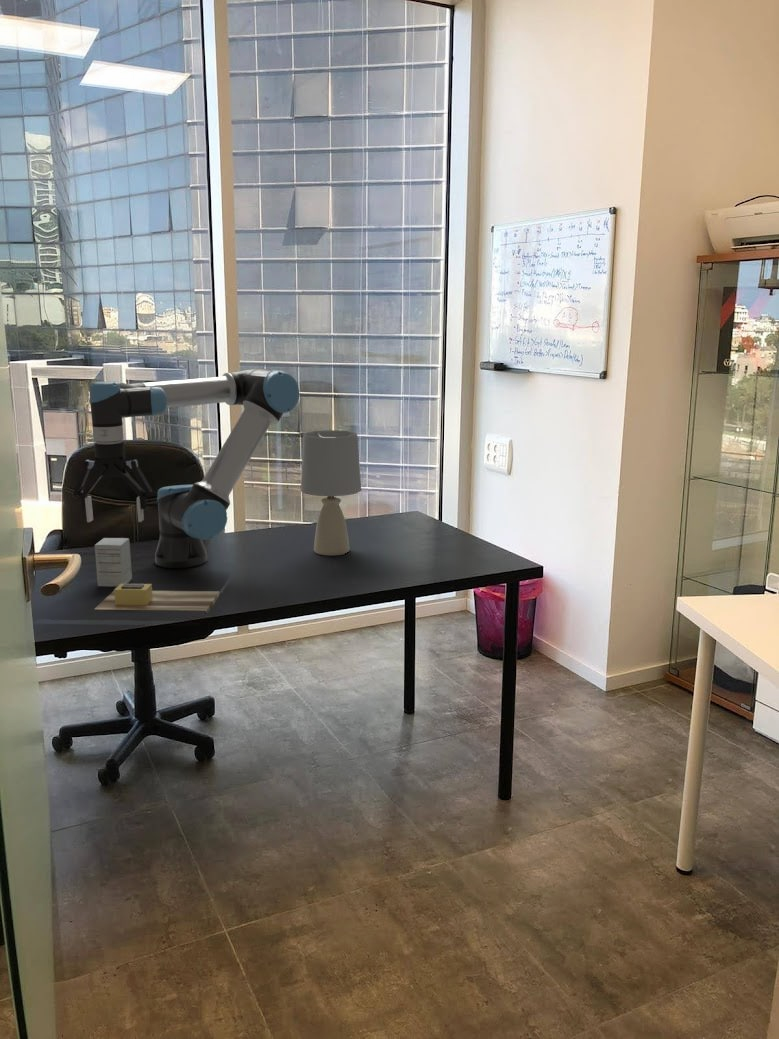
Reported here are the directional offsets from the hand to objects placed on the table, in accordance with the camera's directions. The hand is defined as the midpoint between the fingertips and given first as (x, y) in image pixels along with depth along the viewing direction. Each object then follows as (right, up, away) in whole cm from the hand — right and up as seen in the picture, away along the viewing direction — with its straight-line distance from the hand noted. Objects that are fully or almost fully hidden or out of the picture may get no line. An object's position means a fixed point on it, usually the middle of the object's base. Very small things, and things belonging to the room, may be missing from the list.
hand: (115, 521), depth 230 cm
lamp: (+55, -10, +41) cm, 69 cm away
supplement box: (-2, -18, +5) cm, 19 cm away
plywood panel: (+14, -21, -9) cm, 27 cm away
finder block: (+8, -20, -11) cm, 25 cm away
